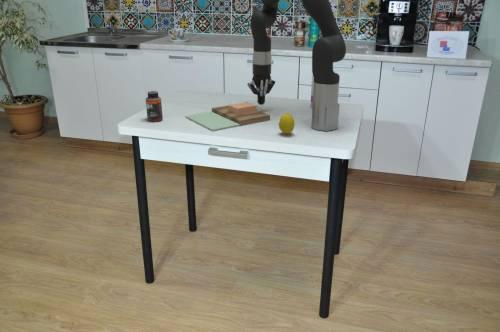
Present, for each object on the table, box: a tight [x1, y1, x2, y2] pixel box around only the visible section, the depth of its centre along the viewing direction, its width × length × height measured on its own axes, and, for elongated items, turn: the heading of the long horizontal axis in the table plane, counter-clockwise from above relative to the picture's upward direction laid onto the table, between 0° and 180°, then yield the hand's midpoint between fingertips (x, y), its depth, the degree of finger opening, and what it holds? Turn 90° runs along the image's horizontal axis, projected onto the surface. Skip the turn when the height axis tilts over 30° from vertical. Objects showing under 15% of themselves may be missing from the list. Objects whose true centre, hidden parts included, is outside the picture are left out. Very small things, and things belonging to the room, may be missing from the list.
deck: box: [211, 104, 271, 127], centre depth 192 cm, size 22×14×2 cm, turn 34°
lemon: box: [278, 112, 296, 135], centre depth 169 cm, size 6×6×8 cm
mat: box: [184, 111, 241, 132], centre depth 185 cm, size 22×12×1 cm, turn 34°
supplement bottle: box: [145, 90, 164, 123], centre depth 185 cm, size 6×6×11 cm
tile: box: [228, 101, 257, 115], centre depth 191 cm, size 7×9×2 cm
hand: (261, 104), depth 197 cm, fingers closed
